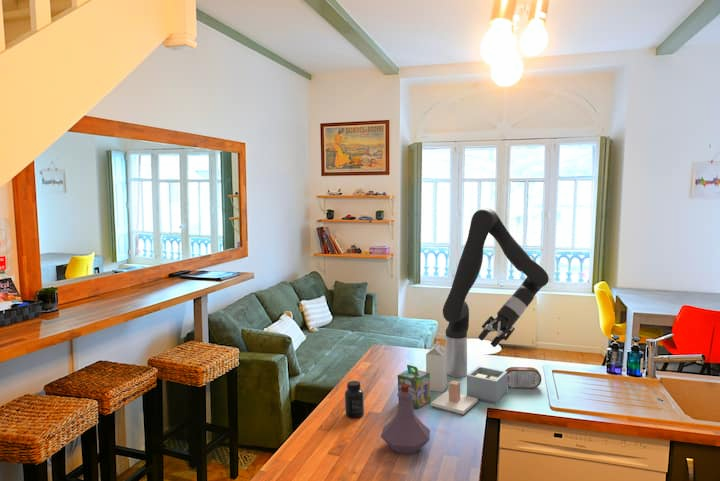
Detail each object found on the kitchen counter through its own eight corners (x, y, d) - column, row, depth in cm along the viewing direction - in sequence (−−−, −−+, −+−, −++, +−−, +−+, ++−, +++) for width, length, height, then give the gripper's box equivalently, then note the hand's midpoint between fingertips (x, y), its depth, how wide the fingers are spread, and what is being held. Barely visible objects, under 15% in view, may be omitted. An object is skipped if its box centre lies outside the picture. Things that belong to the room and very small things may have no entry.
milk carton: (426, 390, 197) (425, 344, 196) (430, 383, 204) (429, 339, 202) (443, 392, 195) (443, 346, 193) (447, 385, 201) (446, 341, 200)
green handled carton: (431, 401, 186) (430, 364, 185) (416, 409, 180) (416, 371, 178) (411, 395, 193) (411, 359, 191) (397, 403, 186) (396, 365, 185)
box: (466, 397, 190) (466, 375, 189) (478, 387, 199) (478, 365, 198) (496, 404, 182) (496, 381, 182) (507, 393, 192) (507, 371, 191)
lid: (431, 405, 182) (430, 384, 181) (446, 393, 192) (446, 373, 191) (463, 414, 174) (463, 392, 173) (477, 401, 184) (477, 380, 183)
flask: (439, 456, 148) (439, 393, 146) (387, 463, 144) (386, 399, 142) (421, 431, 164) (421, 373, 162) (374, 437, 160) (373, 378, 158)
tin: (540, 386, 198) (540, 366, 198) (542, 389, 195) (542, 369, 195) (502, 386, 200) (502, 366, 199) (504, 389, 197) (504, 369, 196)
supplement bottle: (366, 411, 179) (365, 380, 178) (360, 420, 173) (359, 387, 172) (349, 409, 181) (348, 378, 180) (342, 417, 175) (341, 385, 174)
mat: (432, 407, 182) (432, 405, 182) (447, 396, 191) (446, 394, 191) (462, 415, 175) (462, 413, 174) (475, 403, 184) (475, 401, 184)
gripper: (495, 300, 195) (470, 331, 193) (517, 308, 182) (490, 341, 179) (506, 312, 197) (481, 342, 195) (529, 321, 184) (502, 354, 181)
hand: (486, 342), depth 187 cm, fingers open, 8 cm apart
